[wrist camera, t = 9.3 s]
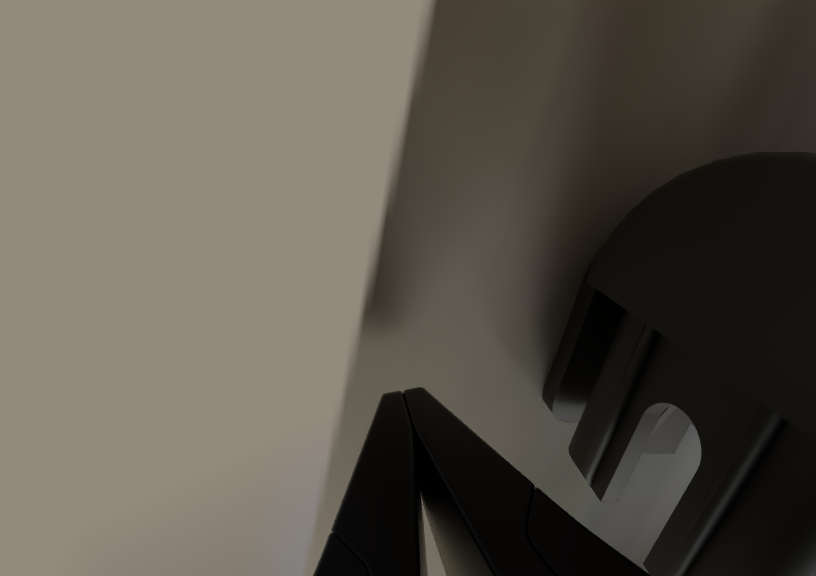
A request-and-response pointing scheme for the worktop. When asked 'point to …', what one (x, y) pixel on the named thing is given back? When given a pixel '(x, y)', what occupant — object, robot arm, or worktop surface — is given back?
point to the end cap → (706, 362)
